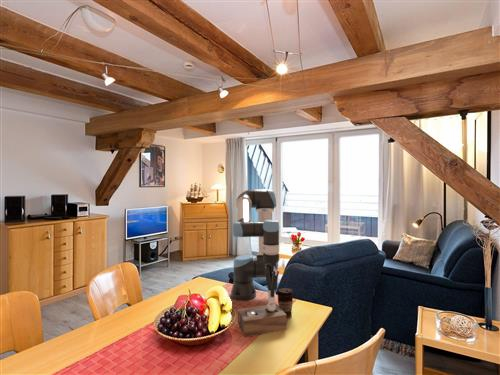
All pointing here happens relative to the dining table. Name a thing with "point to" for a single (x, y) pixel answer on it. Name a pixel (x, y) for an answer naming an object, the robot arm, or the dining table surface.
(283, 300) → the coffee cup
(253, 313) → the peg front
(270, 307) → the peg back
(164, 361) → the dining table surface
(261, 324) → the socket block
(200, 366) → the dining table surface
